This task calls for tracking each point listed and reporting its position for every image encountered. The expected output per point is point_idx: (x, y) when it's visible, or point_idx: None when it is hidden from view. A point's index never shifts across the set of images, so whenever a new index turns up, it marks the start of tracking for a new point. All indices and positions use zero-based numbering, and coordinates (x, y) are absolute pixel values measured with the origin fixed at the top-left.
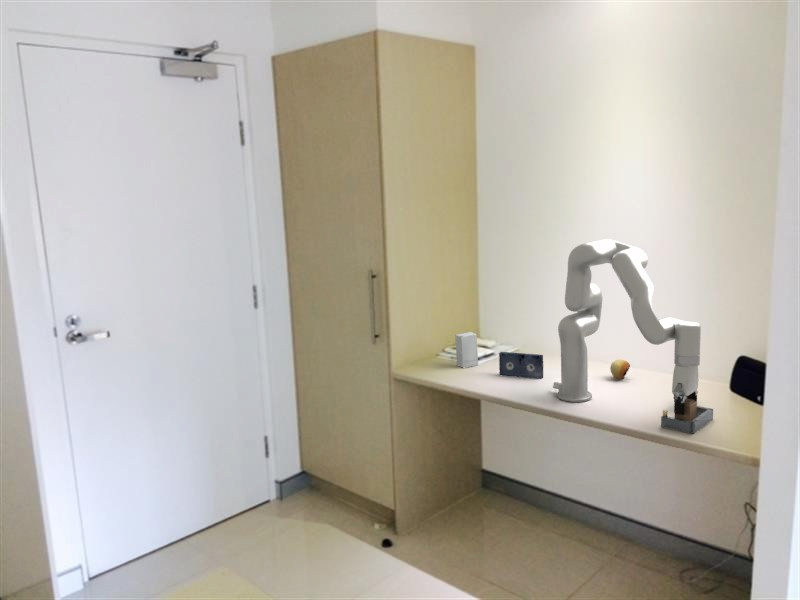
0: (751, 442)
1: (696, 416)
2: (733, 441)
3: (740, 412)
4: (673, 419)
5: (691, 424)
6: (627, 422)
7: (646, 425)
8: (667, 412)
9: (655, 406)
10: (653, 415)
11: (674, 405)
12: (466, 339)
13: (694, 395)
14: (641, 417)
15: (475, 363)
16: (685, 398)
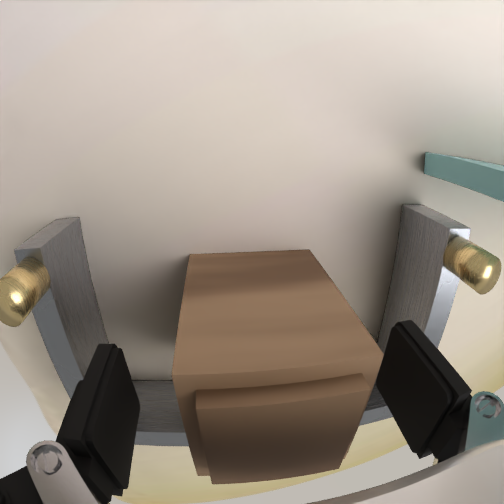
0: (206, 499)
1: (386, 309)
2: (170, 480)
3: (480, 380)
4: (47, 344)
5: None
6: (4, 20)
7: (16, 132)
8: (25, 316)
9: (433, 17)
10: (247, 48)
11: (77, 399)
12: None
13: (425, 445)
14: (140, 6)
15: None
16: (352, 419)
